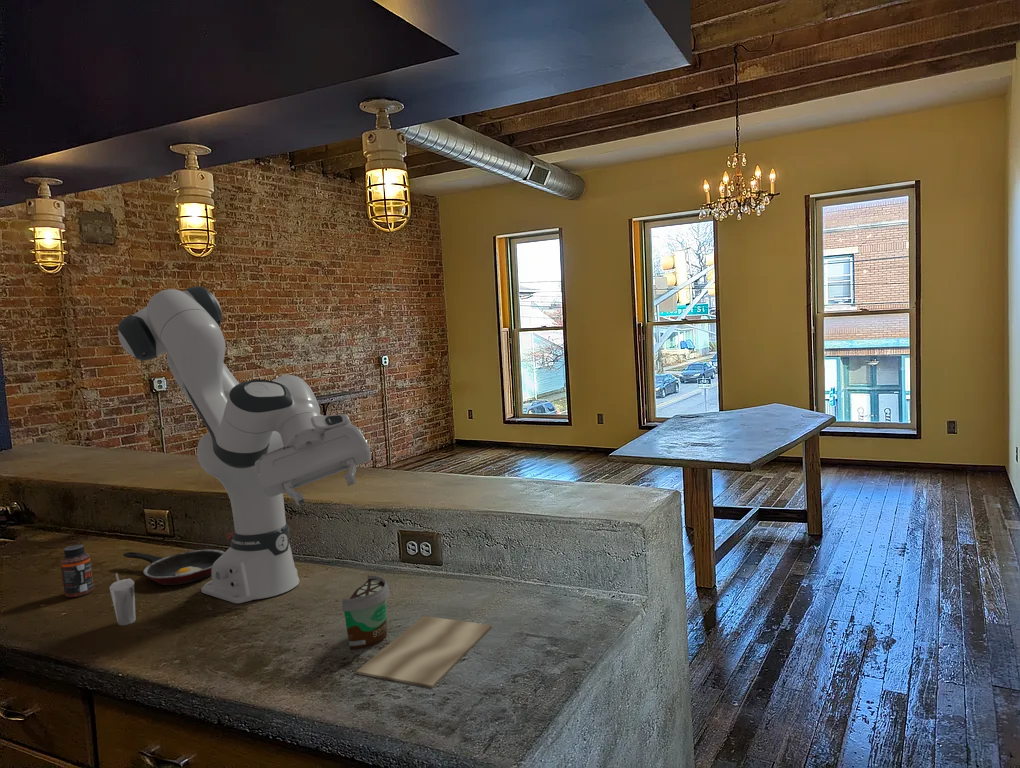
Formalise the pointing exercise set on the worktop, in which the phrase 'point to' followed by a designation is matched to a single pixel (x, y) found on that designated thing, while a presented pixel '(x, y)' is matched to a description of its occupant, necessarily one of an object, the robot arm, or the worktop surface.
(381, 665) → the oak board
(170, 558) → the frying pan
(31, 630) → the worktop surface
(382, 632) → the food container
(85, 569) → the supplement bottle
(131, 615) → the milkshake
